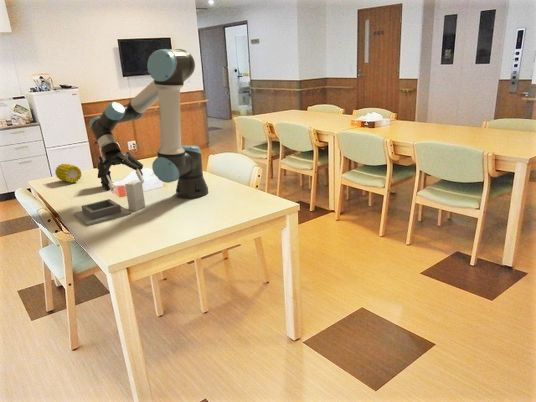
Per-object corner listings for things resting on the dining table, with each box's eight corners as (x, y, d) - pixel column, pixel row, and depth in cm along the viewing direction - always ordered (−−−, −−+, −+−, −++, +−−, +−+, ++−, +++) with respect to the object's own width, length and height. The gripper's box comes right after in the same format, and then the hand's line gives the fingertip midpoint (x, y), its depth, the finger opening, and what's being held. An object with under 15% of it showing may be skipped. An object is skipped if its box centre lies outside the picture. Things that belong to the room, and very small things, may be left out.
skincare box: (138, 205, 184) (134, 179, 180) (146, 206, 182) (142, 180, 178) (128, 210, 178) (124, 183, 174) (136, 211, 177) (132, 184, 173)
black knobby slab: (107, 189, 205) (99, 160, 206) (103, 194, 216) (96, 167, 217) (114, 187, 207) (107, 159, 208) (111, 192, 218) (103, 165, 219)
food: (56, 180, 231) (52, 163, 228) (78, 177, 237) (75, 159, 234) (60, 186, 219) (56, 168, 216) (84, 182, 225) (80, 164, 222)
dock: (114, 204, 187) (113, 196, 186) (131, 214, 174) (129, 205, 173) (73, 215, 176) (71, 206, 175) (87, 226, 163) (85, 216, 162)
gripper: (134, 147, 196) (152, 183, 190) (80, 157, 181) (98, 196, 175) (137, 137, 191) (156, 174, 185) (81, 146, 176) (100, 187, 170)
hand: (128, 185), depth 180 cm, fingers open, 13 cm apart
